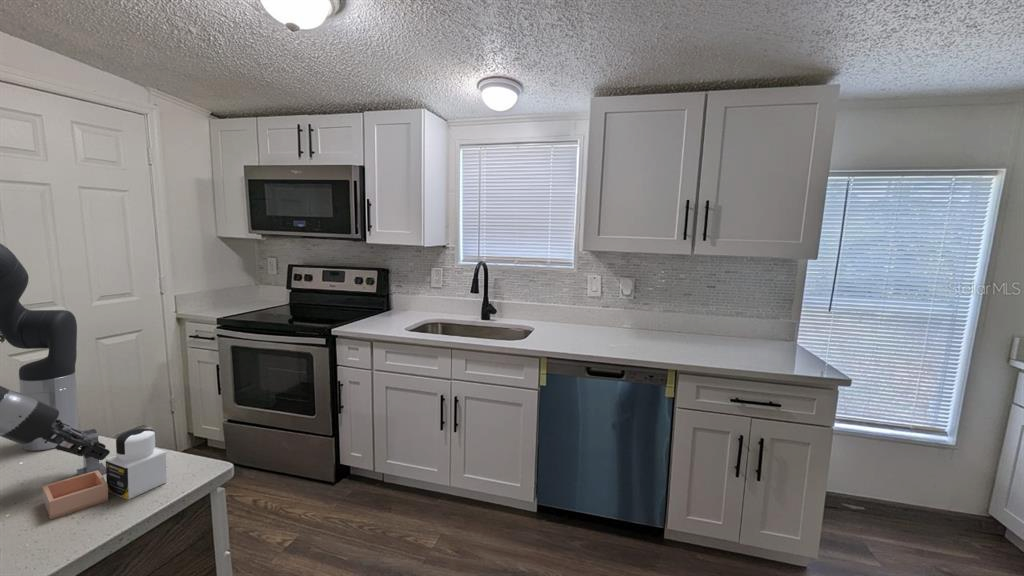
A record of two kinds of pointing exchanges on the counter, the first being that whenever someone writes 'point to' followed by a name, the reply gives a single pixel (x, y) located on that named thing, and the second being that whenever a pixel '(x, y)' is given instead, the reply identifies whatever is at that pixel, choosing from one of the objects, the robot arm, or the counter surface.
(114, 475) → the medicine bottle
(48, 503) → the tray
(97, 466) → the metal pedestal tower
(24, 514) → the counter surface
